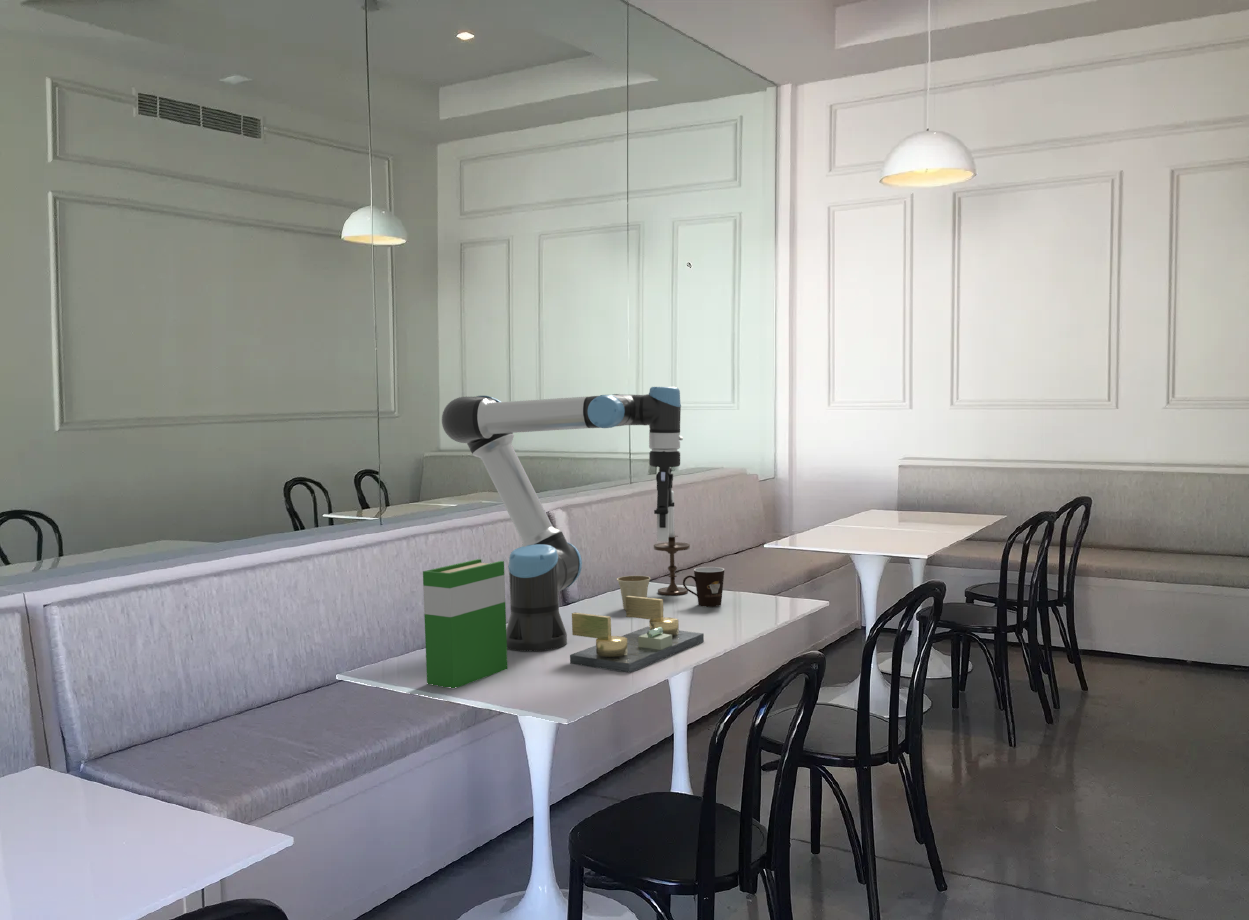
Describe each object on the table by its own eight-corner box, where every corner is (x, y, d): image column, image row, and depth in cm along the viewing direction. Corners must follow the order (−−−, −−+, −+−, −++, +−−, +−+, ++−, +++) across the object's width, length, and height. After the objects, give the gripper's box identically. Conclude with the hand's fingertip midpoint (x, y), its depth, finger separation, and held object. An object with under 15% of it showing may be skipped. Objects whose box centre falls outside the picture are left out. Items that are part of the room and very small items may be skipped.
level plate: (629, 672, 227) (628, 645, 227) (570, 663, 236) (569, 637, 236) (703, 641, 253) (703, 617, 253) (647, 634, 262) (647, 610, 262)
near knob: (633, 651, 236) (632, 615, 236) (616, 658, 231) (615, 622, 230) (583, 644, 244) (582, 610, 244) (565, 650, 238) (564, 615, 238)
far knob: (684, 631, 255) (683, 598, 254) (668, 637, 249) (668, 603, 248) (635, 625, 262) (635, 593, 262) (619, 631, 257) (619, 598, 256)
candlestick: (649, 591, 319) (646, 476, 317) (682, 588, 323) (679, 474, 321) (663, 597, 309) (660, 478, 307) (696, 594, 313) (694, 476, 311)
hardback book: (481, 664, 237) (478, 559, 235) (507, 668, 233) (504, 561, 231) (427, 684, 222) (422, 571, 221) (453, 688, 218) (449, 573, 217)
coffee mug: (725, 601, 301) (724, 566, 300) (725, 607, 292) (724, 572, 292) (684, 601, 302) (683, 567, 301) (683, 608, 293) (682, 572, 293)
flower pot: (612, 607, 296) (611, 577, 296) (642, 604, 300) (641, 574, 300) (626, 613, 288) (625, 582, 287) (657, 609, 292) (656, 579, 291)
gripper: (677, 453, 243) (677, 544, 245) (682, 447, 268) (682, 530, 269) (645, 453, 244) (645, 544, 245) (653, 447, 269) (652, 529, 270)
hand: (664, 537), depth 257 cm, fingers open, 13 cm apart
